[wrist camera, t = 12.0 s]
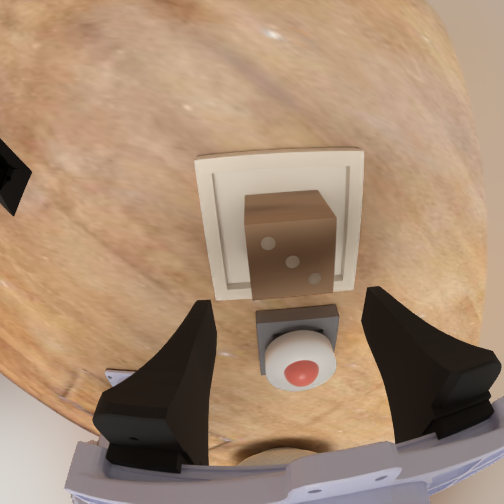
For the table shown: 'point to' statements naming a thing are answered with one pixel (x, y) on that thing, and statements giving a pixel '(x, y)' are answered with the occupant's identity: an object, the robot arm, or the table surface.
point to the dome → (299, 360)
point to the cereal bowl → (275, 456)
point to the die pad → (273, 181)
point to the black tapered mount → (12, 178)
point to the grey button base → (295, 325)
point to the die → (290, 244)
